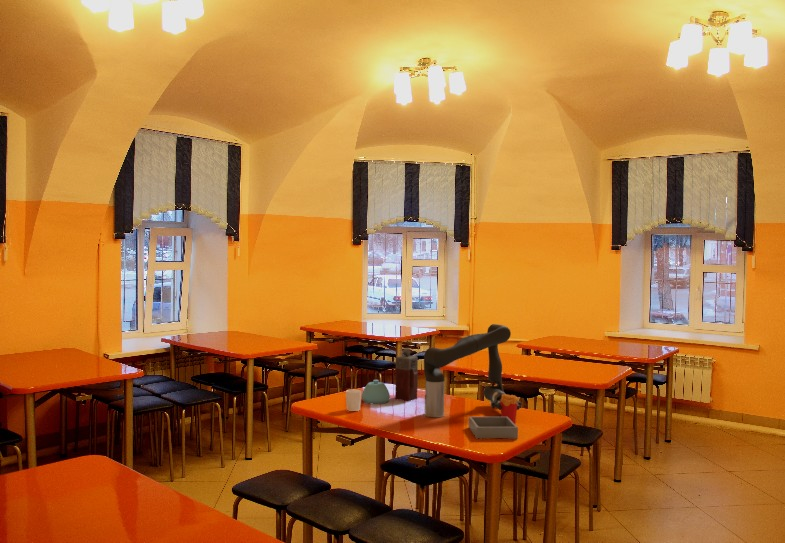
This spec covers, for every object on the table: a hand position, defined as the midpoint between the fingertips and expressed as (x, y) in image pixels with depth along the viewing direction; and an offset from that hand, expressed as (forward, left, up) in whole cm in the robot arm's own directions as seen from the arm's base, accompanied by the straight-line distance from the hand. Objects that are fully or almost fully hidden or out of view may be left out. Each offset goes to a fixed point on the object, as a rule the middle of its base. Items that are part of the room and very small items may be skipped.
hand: (509, 407), depth 295 cm
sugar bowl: (-62, +44, -7) cm, 76 cm away
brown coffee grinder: (-44, +48, -7) cm, 66 cm away
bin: (-12, -18, -7) cm, 22 cm away
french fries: (0, 0, -7) cm, 7 cm away
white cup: (-74, +24, -7) cm, 78 cm away
